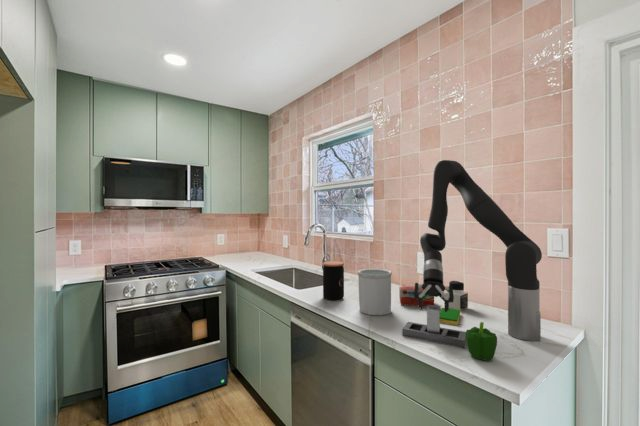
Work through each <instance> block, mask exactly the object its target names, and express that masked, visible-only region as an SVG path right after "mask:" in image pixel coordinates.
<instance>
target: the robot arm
mask: <svg viewBox="0 0 640 426" xmlns="http://www.w3.org/2000/svg"><path fill="white" fill-rule="evenodd" d="M432 175H433V176H432V179H433V181H432V182H433V183H432V196H431V197H432V199H431V209H430V213H429V218H428V223H427V226H428V228H429V229H431V230H434V231H436V232H437V234H436V233H429V232H424V233H423V234H422V235H421V237H420V239H419V240H420V241H419V242H420V247H421V250H422V252H423V257H424V258H423V262H424V264H423V271H422V273H423V279H422V281H423V283H422V284H419V283H418V282H415V283H414V286H415V289H414V298H415V299H418V300H419V306H418V308H420V310H423V307H424V306H423V299H424V298H425V297H426V296H427V295H429V296H434V298H438V297H439V298H440V299H441V300H442V301H443V302H444V303H443V304H444V305H443V306H444V308H445V312H447V311H448V310H449V309H450V308H449V302H453V301H454V300H453V299H454V296H453V288H452V286H451V285H448V286H447V285H446V286H445V285H444V269H443V268H444V266H443V257H442V255H443V254H442V253H441V251H443V250H444V249H445V248H446V245H447V243H446V232H445V231H446V230H445V229H446V224H447V220H448V213H449V212H448V211H449V207H448V206H449V205H448V197H447V193H448V188H449V185H450V184H451V185H452V186H453V187H454V188H455V189H456V190H457V192H458V193H460V196H461V197H462V199H463V200H462V201H463V202H464V205H465V207H466V210H467V211H468V212H469V213H470V215H471V216H472V217H473V218H474V219H475V220H476V222H477V223H479V224H480V225H481V226H482V227H483V228H484V229H486V230H487V231H489V232H491V233H492V234H493V235H495V236H496V237H497V238H498V239H499V240H500V241H501V242H502V243H503V245H505V247H506V250H505V254H504V255H505V259H504V260H505V276H506V279H507V329H508V330H507V332H508V333H507V334H508V335H510V337H514V338H516V339H517V340H518V339H520V340H523V341H531V342H532V341H533V342H534V341H538V342H541V334H542V332H541V323H542V322H541V321H542V319H541V318H542V317H541V310H540V306H541V305H540V298H541V297H540V280H539V278H538V275H537V272H538V270H537V264H539V263H540V261H541V260H542V258H543V257H542V256H543V254H542V251H541V250H542V249H541V248H540V247H539V245H537V243H536V242H534V241H533V240H532V239H531V238H530V237H528V236H527V235H526V233H524V232H523V231H522V230H520V229H519V228H518V227H517V226H516V225H515V223H514V222H513V221H512V220H511V219H510V217H509V216H508V215H507V214H506V213H505V212H504V211H503V210H502V209H501V208H500V206H499V205H498V204H497V203H496V202H495V201H494V199H492V198H491V197H490V196H489V194H487V193H486V192H485V190H484V189H482V187H480V186H479V185H478V184H477V183H476V182H475V181H474V180H473V178H472V177H471V176H470V175H469V173H468V171H467V170H466V169H465V167H464V166H463V165H462V164H461V163H459V162H458V161H456V160H450V159H448V160H447V159H443V160H440V161H438V162H437V163H436V164H435V166H434V168H433V174H432ZM420 288H422V289H423V291H422V293H421V294H420V295H418V290H420ZM445 290H446V292H448V293H449V298H448V297H447V296H446V295H445V292H444V291H445Z"/></svg>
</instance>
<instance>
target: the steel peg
mask: <svg viewBox="0 0 640 426" xmlns="http://www.w3.org/2000/svg"><path fill="white" fill-rule="evenodd" d="M440 312H441V306H440V305H435V304H434V305H428V306H427V307H426V325H427V332H429V333H434V334H439V335H440V327H441V323H440Z"/></svg>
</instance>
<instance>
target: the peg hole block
mask: <svg viewBox="0 0 640 426" xmlns="http://www.w3.org/2000/svg"><path fill="white" fill-rule="evenodd" d="M465 333H466V331H463V330H456V329H452V328H451V329H450V328H446V327H441V326H440V335H439V334H434V333H429V332H427V324H423V323H417V322H412V321H407V322H406V323H405V325H404V326H403V327H402V328H401V334H402V335H403V337H407V336H408V338H412V339H418V340H422V341H428V342H433V343H437V344H443V345H448V346H451V347H452V346H453V347H457V348H462V349H465V347H466V345H467V343H466V335H465Z"/></svg>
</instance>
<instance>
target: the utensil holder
mask: <svg viewBox="0 0 640 426" xmlns="http://www.w3.org/2000/svg"><path fill="white" fill-rule="evenodd" d="M357 275H358V277H357V278H358V301H359V303H358V304H359V305H358V306H359V311H360V312H361V313H362V314H365V315H369V316H386V315H388V314H390V313H392V312H391V311H392V276H393V275H392V271H391V270H389V269H384V268H363V269H359V270H357Z"/></svg>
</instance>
